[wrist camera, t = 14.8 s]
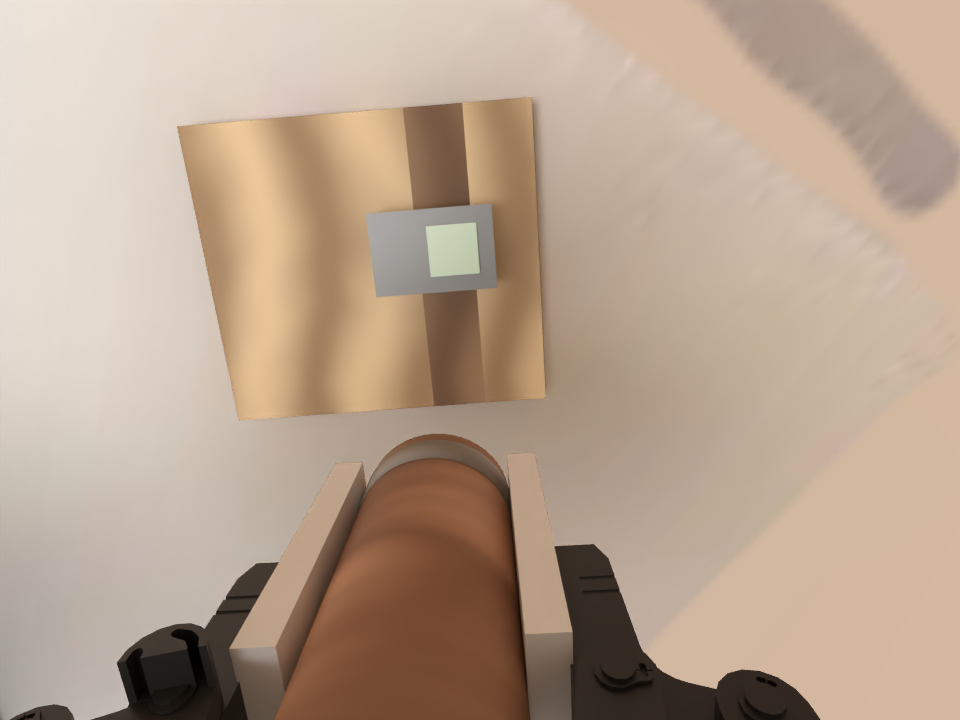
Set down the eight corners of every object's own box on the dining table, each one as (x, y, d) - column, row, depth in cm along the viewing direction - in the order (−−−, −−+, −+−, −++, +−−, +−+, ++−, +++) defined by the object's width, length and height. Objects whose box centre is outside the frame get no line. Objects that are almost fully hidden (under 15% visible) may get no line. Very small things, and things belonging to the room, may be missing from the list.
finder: (386, 288, 29) (375, 297, 26) (376, 213, 28) (364, 213, 25) (495, 280, 29) (497, 288, 26) (490, 204, 28) (491, 203, 25)
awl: (377, 562, 16) (217, 1096, 6) (360, 436, 15) (136, 851, 5) (513, 556, 16) (563, 1086, 6) (507, 428, 15) (555, 835, 5)
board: (247, 412, 32) (239, 420, 31) (189, 130, 28) (176, 126, 27) (543, 391, 32) (545, 397, 31) (529, 101, 28) (531, 97, 27)
